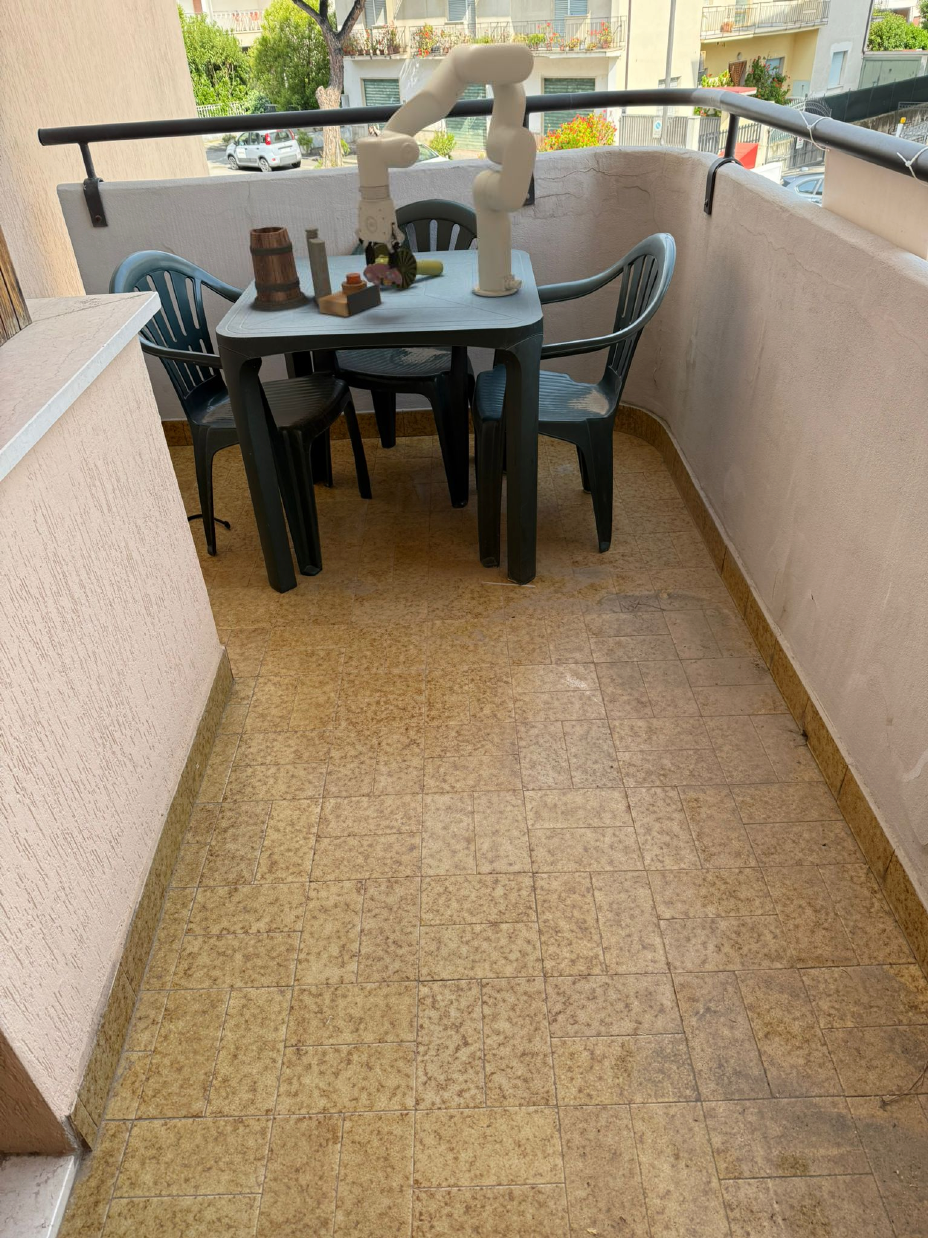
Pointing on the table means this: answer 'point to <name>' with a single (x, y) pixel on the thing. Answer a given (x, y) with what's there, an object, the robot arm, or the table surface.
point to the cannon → (407, 266)
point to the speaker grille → (363, 299)
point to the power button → (353, 278)
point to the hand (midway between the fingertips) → (382, 265)
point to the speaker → (340, 300)
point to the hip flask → (318, 264)
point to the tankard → (275, 270)
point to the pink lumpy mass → (381, 274)
